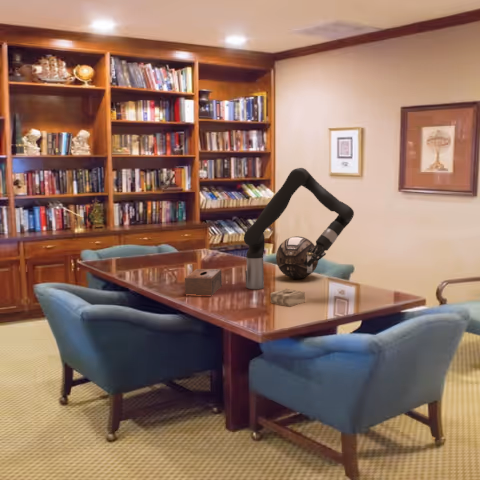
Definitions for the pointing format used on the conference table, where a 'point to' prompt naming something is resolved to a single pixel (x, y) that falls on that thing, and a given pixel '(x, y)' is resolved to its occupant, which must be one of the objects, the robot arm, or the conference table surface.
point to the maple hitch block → (287, 297)
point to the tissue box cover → (203, 282)
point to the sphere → (294, 257)
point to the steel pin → (309, 256)
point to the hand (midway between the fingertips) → (306, 265)
